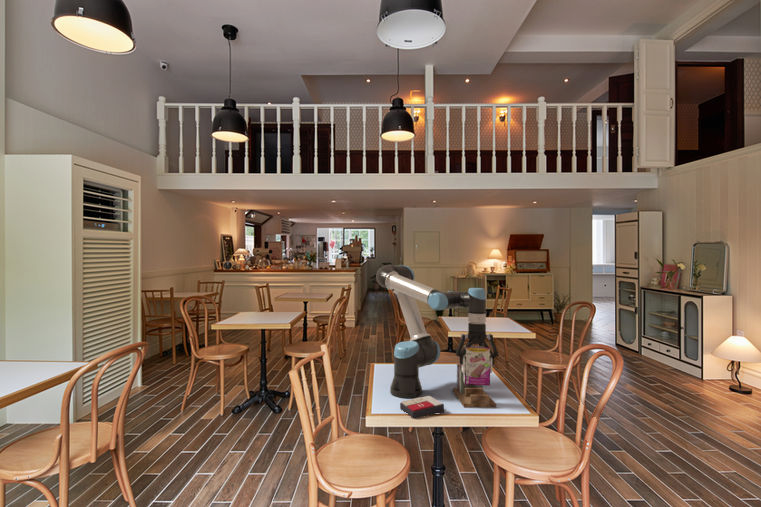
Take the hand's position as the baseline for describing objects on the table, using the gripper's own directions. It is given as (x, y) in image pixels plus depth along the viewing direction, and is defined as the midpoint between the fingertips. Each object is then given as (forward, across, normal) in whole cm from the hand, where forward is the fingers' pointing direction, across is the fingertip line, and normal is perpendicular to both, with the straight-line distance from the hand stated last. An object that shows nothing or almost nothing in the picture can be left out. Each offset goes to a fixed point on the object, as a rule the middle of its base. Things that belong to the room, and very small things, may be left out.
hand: (476, 372), depth 162 cm
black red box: (+14, -26, -8) cm, 31 cm away
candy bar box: (+5, 0, 0) cm, 5 cm away
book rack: (+14, 0, +5) cm, 14 cm away
